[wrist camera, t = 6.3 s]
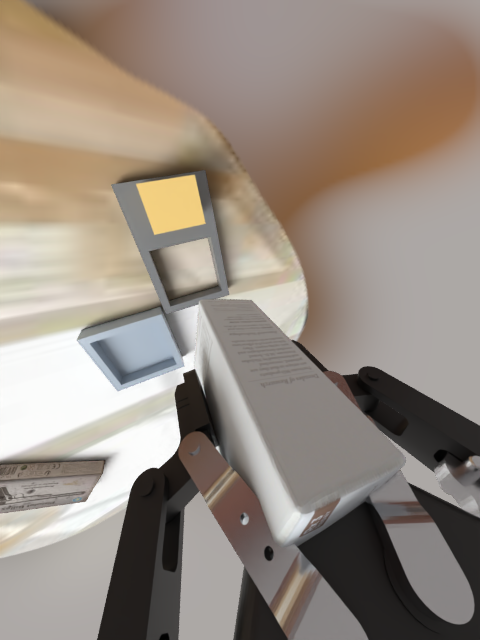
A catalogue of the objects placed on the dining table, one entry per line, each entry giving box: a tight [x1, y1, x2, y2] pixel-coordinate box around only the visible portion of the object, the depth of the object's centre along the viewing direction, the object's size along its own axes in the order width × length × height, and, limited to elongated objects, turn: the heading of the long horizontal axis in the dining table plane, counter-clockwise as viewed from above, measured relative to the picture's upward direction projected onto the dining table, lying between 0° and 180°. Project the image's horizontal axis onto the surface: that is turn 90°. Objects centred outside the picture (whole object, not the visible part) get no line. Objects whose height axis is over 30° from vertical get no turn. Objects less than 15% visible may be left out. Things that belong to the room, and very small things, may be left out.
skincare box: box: [194, 299, 406, 559], centre depth 11 cm, size 6×4×12 cm
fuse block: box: [111, 170, 229, 314], centre depth 25 cm, size 16×10×8 cm, turn 8°
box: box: [0, 460, 105, 513], centre depth 39 cm, size 11×17×3 cm, turn 54°
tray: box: [77, 307, 184, 391], centre depth 32 cm, size 11×11×2 cm
